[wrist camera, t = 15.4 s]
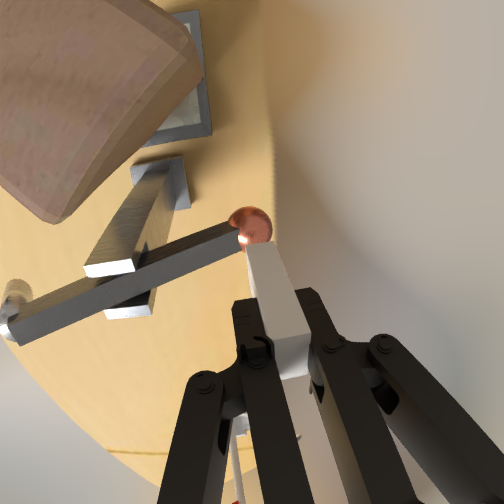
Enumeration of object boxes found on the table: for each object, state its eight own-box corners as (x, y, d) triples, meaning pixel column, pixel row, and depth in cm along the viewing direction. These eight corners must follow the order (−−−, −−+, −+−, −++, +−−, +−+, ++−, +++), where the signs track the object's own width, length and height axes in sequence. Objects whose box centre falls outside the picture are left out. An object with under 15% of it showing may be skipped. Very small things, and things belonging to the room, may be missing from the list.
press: (84, 43, 21) (-31, 19, 5) (199, 14, 22) (189, -77, 6) (117, 217, 33) (55, 334, 16) (221, 199, 34) (236, 316, 17)
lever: (-3, 281, 14) (-16, 331, 10) (234, 187, 23) (281, 208, 19) (16, 316, 16) (13, 370, 12) (238, 223, 25) (282, 250, 21)
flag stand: (270, 402, 59) (297, 525, 34) (228, 423, 62) (244, 534, 37) (229, 384, 53) (249, 530, 28) (186, 407, 56) (193, 534, 31)
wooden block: (137, 20, 20) (40, -58, 3) (208, 74, 25) (206, 36, 8) (75, 96, 23) (-67, 129, 6) (142, 148, 27) (53, 241, 10)
